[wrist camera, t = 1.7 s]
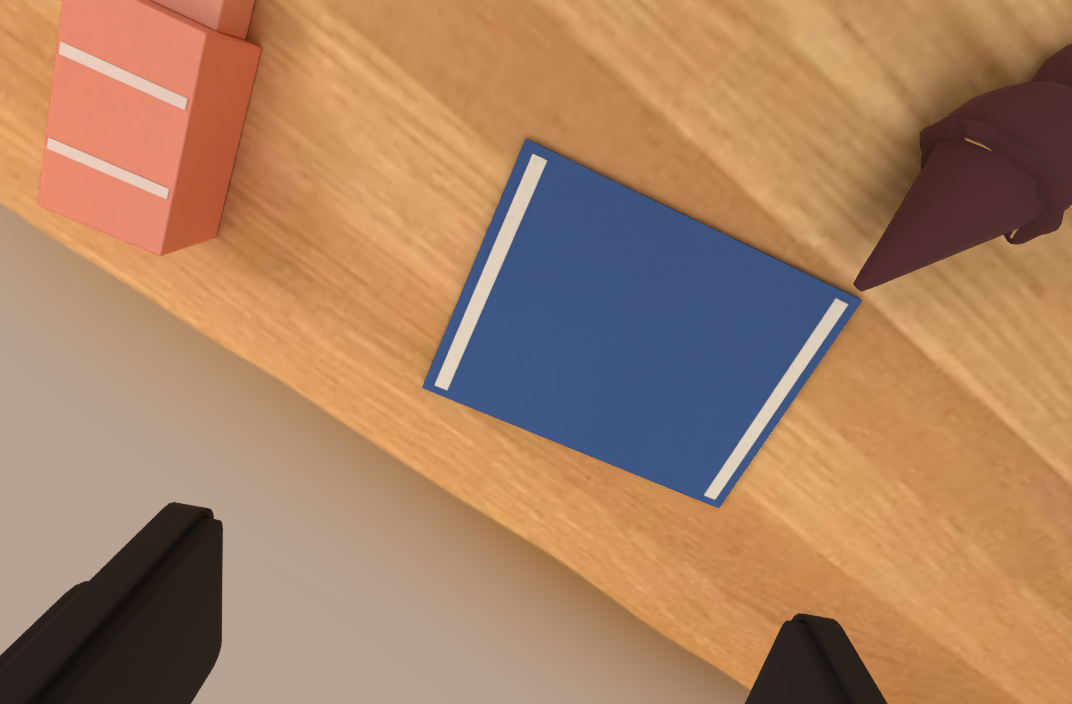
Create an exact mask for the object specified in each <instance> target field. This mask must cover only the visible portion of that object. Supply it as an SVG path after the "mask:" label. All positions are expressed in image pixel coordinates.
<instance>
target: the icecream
mask: <svg viewBox="0 0 1072 704" xmlns="http://www.w3.org/2000/svg"><path fill="white" fill-rule="evenodd" d="M920 146H921V150H922V161H921V172H920V174H919V175H918V177H917V179H916V180H915V182H914V184H913V185H912V187H911V189H910V190H909V192H908V194H907V195H906V197H905V199H904V200H903V202H902V204H901V205H900V207H899V209H898V210H897V212H896V214H895V215H894V217H893V219H892V220H891V222H890V224H889V225H888V227H887V229H886V230H885V232H884V234H883V235H882V237H881V239H880V240H879V242H878V244H877V245H876V247H875V248H874V250H873V252H872V253H871V255H870V256H869V258H868V260H867V261H866V263H865V264H864V266H863V268H862V269H861V271H860V273H859V274H858V276H857V278H856V280H855V281H854V283H853V284H854V286H855V287H856V288H857V289H858V290H860V291H865V290H867V289H870V288H873V287H876V286H878V285H881V284H883V283H886V282H888V281H890V280H893V279H895V278H898V277H900V276H903V275H905V274H908V273H910V272H912V271H915V270H917V269H920V268H922V267H925V266H927V265H930V264H932V263H935V262H937V261H940V260H942V259H944V258H947V257H949V256H952V255H954V254H957V253H959V252H962V251H964V250H967V249H969V248H972V247H974V246H976V245H979V244H981V243H984V242H986V241H989V240H991V239H994V238H996V237H999V236H1001V235H1004V236H1005V238H1006V240H1007V241H1008V242H1009V243H1010V244H1022V243H1025V242H1027V241H1029V240H1031V239H1033V238H1035V237H1037V236H1039V235H1042V234H1047V233H1051V232H1053V231H1055V230H1057V229H1058V228H1059V227H1060V225H1061V223H1062V218H1063V214H1064V210H1066V209H1068V207H1069V206H1070V205H1071V204H1072V44H1071V45H1068V46H1066V47H1065V48H1063V49H1062V50H1061V51H1059V52H1058V53H1056V54H1055V55H1053V56H1052V57H1051V58H1049V59H1048V60H1046V62H1045V63H1044V64H1043V66H1042V67H1041V68H1040V70H1039V71H1038V73H1037V74H1036V75H1035V77H1034V78H1033V79H1032V81H1031V82H1028V83H1023V84H1019V85H1014V86H1010V87H1005V88H1001V89H997V90H994V91H992V92H989V93H986V94H983V95H980V96H977V97H974V98H972V99H971V100H969V101H968V102H967V103H965V104H964V105H962V106H961V107H959V108H958V109H956V110H955V111H954V112H952V113H951V114H949V115H948V117H945V118H944V119H942V120H941V121H940V122H937V123H935V124H933V125H931V126H929V127H927V128H925V129H923V130H922V131H921V132H920Z"/></svg>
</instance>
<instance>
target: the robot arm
mask: <svg viewBox="0 0 1072 704" xmlns="http://www.w3.org/2000/svg"><path fill="white" fill-rule="evenodd" d="M222 545H223V526H222V522H221V521H220V520H216V519H214V516H213V512H212V510H211V509H209V508H204V507H198V506H192V505H187V504H181V503H176V502H173V503H169V504H168V505H167V506H165V507H164V508H163V509H162V510H161V511H160V512H159V513H158V514H157V515H156V516H155V517H154V518H153V519H152V520H151V521H150V522H149V523H148V524H147V525H146V526H145V527H144V528H143V529H142V530H141V531H140V532H139V533H138V534H136V536H135V537H133V538H132V539H131V540H130V541H129V543H127V544H126V545H125V546H124V547H123V548H122V549H121V550H120V551H119V552H118V553H117V554H116V555H115V556H114V557H113V558H112V559H111V560H110V561H109V562H108V563H107V564H106V565H105V566H104V567H103V568H102V569H101V570H100V571H99V572H98V573H97V574H96V575H95V576H94V577H93V578H92V579H91V580H90V581H84V582H82V583H80V584H77V585H75V586H74V587H73V588H71V589H70V590H69V591H68V592H66V593H65V594H64V595H63V596H62V597H61V598H60V599H59V600H58V601H57V602H56V603H55V604H54V605H53V606H51V607H50V608H49V610H47V611H46V612H45V613H44V614H43V615H42V616H41V617H40V618H39V619H38V620H37V621H36V622H35V623H34V624H33V625H32V626H31V627H30V628H29V629H28V630H26V631H25V633H23V634H22V635H21V636H20V637H19V638H18V639H17V640H16V641H15V642H14V643H13V644H12V645H11V646H10V647H9V648H8V649H7V650H6V651H5V652H4V653H2V654H1V655H0V704H191V703H192V701H193V699H194V698H195V696H196V695H197V693H198V691H199V689H200V688H201V686H202V685H203V683H204V682H205V680H206V678H207V677H208V675H209V674H210V672H211V670H212V669H213V667H214V665H215V663H216V660H217V658H218V656H219V652H220V649H221V642H222V551H223V550H222V549H223V546H222ZM745 704H887V702H886V701H885V699H884V697H883V696H882V694H881V692H880V690H879V689H878V687H877V685H876V684H875V682H874V680H873V679H872V677H871V675H870V674H869V672H868V670H867V669H866V667H865V665H864V664H863V662H862V660H861V659H860V657H859V655H858V653H857V652H856V650H855V648H854V647H853V645H852V643H851V642H850V640H849V638H848V637H847V635H846V633H845V632H844V630H843V628H842V627H841V626H840V624H839V623H838V622H837V621H835V620H834V619H830V618H825V617H819V616H813V615H808V614H800V613H798V614H797V615H795V616H794V617H793V619H792V620H791V621H786V622H784V624H783V625H782V627H781V629H780V631H779V633H778V635H777V637H776V639H775V642H774V644H773V646H772V648H771V650H770V652H769V654H768V656H767V658H766V660H765V662H764V665H763V667H762V669H761V671H760V673H759V675H758V677H757V679H756V681H755V683H754V686H753V688H752V690H751V692H750V694H749V696H748V698H747V700H746V702H745Z"/></svg>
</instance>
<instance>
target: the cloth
mask: <svg viewBox="0 0 1072 704" xmlns="http://www.w3.org/2000/svg"><path fill="white" fill-rule="evenodd" d="M861 301H862V300H861V299H859V298H857V297H855V296H853V295H851V294H849V293H847V292H844V291H842V290H840V289H838V288H836V287H834V286H832V285H830V284H828V283H826V282H824V281H822V280H820V279H817V278H815V277H813V276H811V275H809V274H807V273H805V272H803V271H801V270H799V269H797V268H795V267H792V266H790V265H788V264H786V263H784V262H782V261H780V260H778V259H776V258H774V257H772V256H770V255H767V254H765V253H763V252H761V251H759V250H757V249H755V248H753V247H751V246H749V245H747V244H745V243H742V242H740V241H738V240H736V239H734V238H732V237H730V236H728V235H726V234H724V233H722V232H720V231H718V230H715V229H713V228H711V227H709V226H707V225H705V224H703V223H701V222H699V221H697V220H695V219H693V218H690V217H688V216H686V215H684V214H682V213H680V212H678V211H676V210H674V209H672V208H670V207H668V206H665V205H663V204H661V203H659V202H657V201H655V200H653V199H651V198H649V197H647V196H645V195H643V194H640V193H638V192H636V191H634V190H632V189H630V188H628V187H626V186H624V185H622V184H620V183H618V182H616V181H613V180H611V179H609V178H607V177H605V176H603V175H601V174H599V173H597V172H595V171H593V170H591V169H588V168H586V167H584V166H582V165H580V164H578V163H576V162H574V161H572V160H570V159H568V158H566V157H563V156H561V155H559V154H557V153H555V152H553V151H551V150H549V149H547V148H545V147H543V146H541V145H538V144H536V143H534V142H532V141H530V140H528V139H526V140H525V142H524V144H523V147H522V149H521V151H520V154H519V156H518V159H517V161H516V163H515V166H514V168H513V171H512V173H511V176H510V178H509V180H508V183H507V185H506V188H505V190H504V192H503V195H502V197H501V200H500V202H499V204H498V207H497V209H496V212H495V214H494V216H493V219H492V221H491V224H490V226H489V228H488V231H487V233H486V236H485V238H484V240H483V243H482V245H481V248H480V250H479V252H478V255H477V257H476V260H475V262H474V264H473V267H472V269H471V272H470V274H469V276H468V279H467V281H466V284H465V286H464V288H463V291H462V293H461V296H460V298H459V300H458V303H457V305H456V308H455V310H454V312H453V315H452V317H451V320H450V322H449V324H448V327H447V329H446V332H445V334H444V336H443V339H442V341H441V344H440V346H439V348H438V351H437V353H436V356H435V358H434V360H433V363H432V365H431V368H430V370H429V372H428V375H427V377H426V380H425V382H424V384H423V387H422V388H424V389H426V390H429V391H431V392H434V393H436V394H439V395H441V396H444V397H446V398H449V399H451V400H454V401H456V402H458V403H461V404H463V405H466V406H468V407H471V408H473V409H476V410H478V411H481V412H483V413H486V414H488V415H490V416H493V417H495V418H498V419H500V420H503V421H505V422H508V423H510V424H513V425H515V426H518V427H520V428H522V429H525V430H527V431H530V432H532V433H535V434H537V435H540V436H542V437H545V438H547V439H550V440H552V441H554V442H557V443H559V444H562V445H564V446H567V447H569V448H572V449H574V450H577V451H579V452H582V453H584V454H586V455H589V456H591V457H594V458H596V459H599V460H601V461H604V462H606V463H609V464H611V465H613V466H616V467H618V468H621V469H623V470H626V471H628V472H631V473H633V474H636V475H638V476H641V477H643V478H645V479H648V480H650V481H653V482H655V483H658V484H660V485H663V486H665V487H668V488H670V489H673V490H675V491H677V492H680V493H682V494H685V495H687V496H690V497H692V498H695V499H697V500H700V501H702V502H705V503H707V504H709V505H712V506H714V507H717V508H719V507H720V506H721V505H722V503H723V502H724V500H725V499H726V497H727V496H728V494H729V493H730V492H731V490H732V489H733V487H734V486H735V484H736V483H737V481H738V480H739V478H740V477H741V476H742V474H743V473H744V471H745V470H746V468H747V467H748V465H749V464H750V463H751V461H752V460H753V458H754V457H755V455H756V454H757V452H758V451H759V449H760V448H761V447H762V445H763V444H764V442H765V441H766V439H767V438H768V436H769V435H770V433H771V432H772V431H773V429H774V428H775V426H776V425H777V423H778V422H779V420H780V419H781V418H782V416H783V415H784V413H785V412H786V410H787V409H788V407H789V406H790V404H791V403H792V402H793V400H794V399H795V397H796V396H797V394H798V393H799V391H800V390H801V389H802V387H803V386H804V384H805V383H806V381H807V380H808V378H809V377H810V375H811V374H812V373H813V371H814V370H815V368H816V367H817V365H818V364H819V362H820V361H821V360H822V358H823V357H824V355H825V354H826V352H827V351H828V349H829V348H830V346H831V345H832V344H833V342H834V341H835V339H836V338H837V336H838V335H839V333H840V332H841V331H842V329H843V328H844V326H845V325H846V323H847V322H848V320H849V319H850V317H851V316H852V315H853V313H854V312H855V310H856V309H857V307H858V306H859V304H860V303H861Z"/></svg>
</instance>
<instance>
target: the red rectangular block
mask: <svg viewBox="0 0 1072 704" xmlns="http://www.w3.org/2000/svg"><path fill="white" fill-rule="evenodd" d="M254 2H255V0H62V8H61V16H60V24H59V32H58V40H57V48H56V56H55V64H54V72H53V81H52V89H51V97H50V105H49V113H48V121H47V129H46V137H45V145H44V153H43V162H42V170H41V178H40V186H39V194H38V202H37V205H38V206H40V207H43V208H45V209H47V210H50V211H52V212H55V213H57V214H60V215H62V216H64V217H67V218H69V219H72V220H74V221H76V222H79V223H81V224H84V225H86V226H89V227H91V228H93V229H96V230H98V231H101V232H103V233H106V234H108V235H110V236H113V237H115V238H118V239H120V240H123V241H125V242H127V243H130V244H132V245H135V246H137V247H140V248H142V249H144V250H147V251H149V252H152V253H154V254H157V255H159V256H162V255H165V254H168V253H171V252H174V251H177V250H180V249H183V248H186V247H189V246H192V245H195V244H198V243H201V242H205V241H208V240H211V239H214V238H216V235H217V231H218V227H219V223H220V219H221V214H222V210H223V206H224V202H225V198H226V194H227V190H228V185H229V181H230V177H231V173H232V169H233V165H234V161H235V157H236V152H237V148H238V144H239V140H240V136H241V132H242V128H243V124H244V119H245V115H246V111H247V107H248V103H249V99H250V95H251V90H252V86H253V82H254V78H255V74H256V70H257V66H258V62H259V57H260V53H261V48H260V47H258V46H256V45H254V44H252V43H250V42H248V41H246V40H245V39H246V36H247V32H248V27H249V23H250V19H251V14H252V10H253V6H254Z"/></svg>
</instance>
